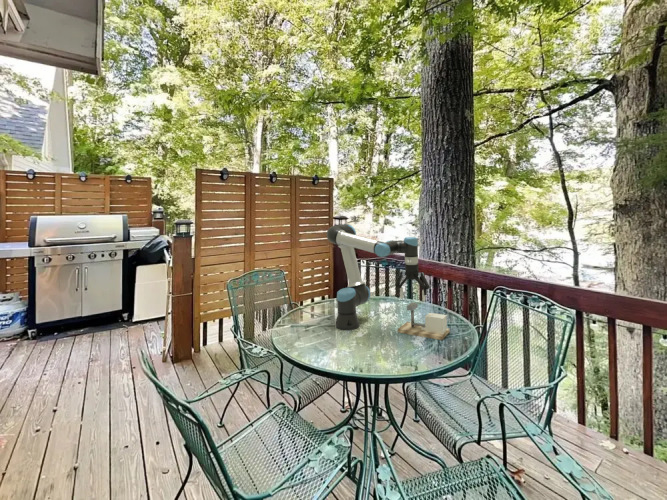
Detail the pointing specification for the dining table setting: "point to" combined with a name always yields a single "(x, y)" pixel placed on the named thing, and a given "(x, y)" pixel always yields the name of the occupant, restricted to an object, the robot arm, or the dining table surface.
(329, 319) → the dining table surface
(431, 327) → the cream rectangular block
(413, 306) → the t key
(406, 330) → the base plate
